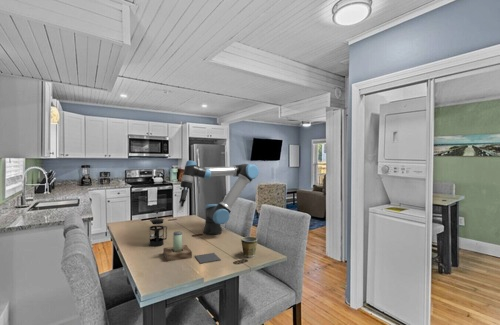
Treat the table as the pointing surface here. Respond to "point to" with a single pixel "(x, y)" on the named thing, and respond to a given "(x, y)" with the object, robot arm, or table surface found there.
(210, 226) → the robot arm
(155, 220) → the french press
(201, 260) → the mat
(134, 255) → the table surface
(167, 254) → the socket block
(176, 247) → the plug
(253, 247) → the ceramic cup
